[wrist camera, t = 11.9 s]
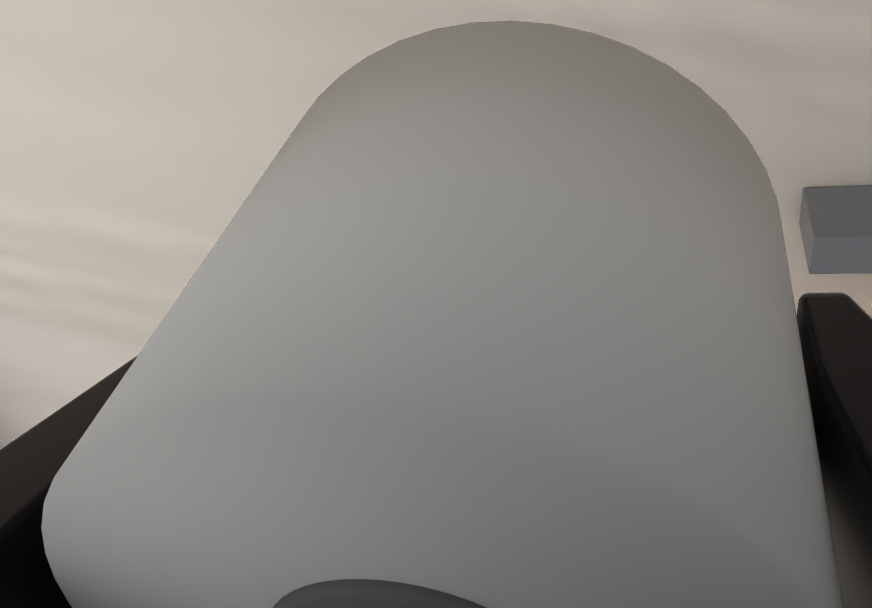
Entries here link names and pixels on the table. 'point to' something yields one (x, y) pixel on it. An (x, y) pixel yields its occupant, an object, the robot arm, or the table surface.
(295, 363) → the gray short cylinder
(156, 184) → the table surface
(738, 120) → the table surface
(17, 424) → the table surface
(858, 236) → the cable rack
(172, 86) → the table surface
